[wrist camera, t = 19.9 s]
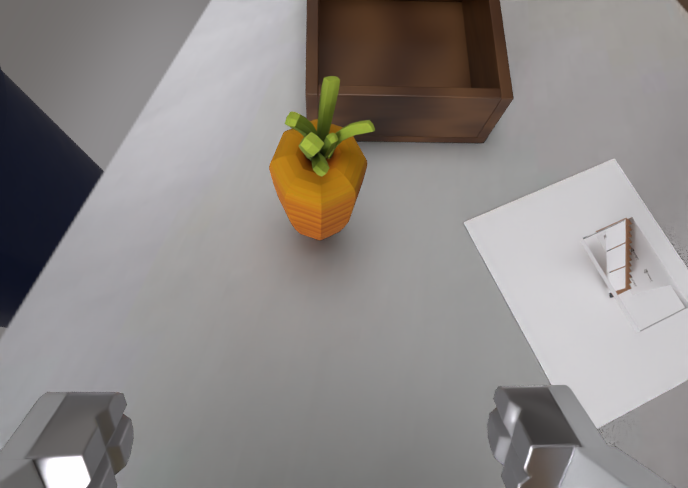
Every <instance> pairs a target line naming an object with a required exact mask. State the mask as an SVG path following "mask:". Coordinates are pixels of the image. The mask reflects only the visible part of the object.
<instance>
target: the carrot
mask: <svg viewBox="0 0 688 488" xmlns="http://www.w3.org/2000/svg"><path fill="white" fill-rule="evenodd" d="M339 85H340V79H339V78H338V77H336V76H328V77H325V78H324V79H323V83H322V87H321V94H320V103H319V113H318V119H314V120H312V121H309V120H308V119H307V118H305V117H304V116H302V115H300V114H298V113H296V112H290V113H289V115H288V116H287V118H286V122H285V124H286V125H288V126H290V127H291V128H292V129H290V130H287V131H285V132H284V133H283V135H282V138H281V140H280V142H279V145H278V147H277V149H276V152H275V154H274V156H273V159H272V161H271V163H270V166H269V170H270V173H271V177H272V180H273V183H274V186H275V189H276V192H277V195H278V197H279V200H280V202H281V204H282V206H283V208H284V210H285V212H286V214H287V216H288V218H289V220H290V222H291V224H292V225H293V227H294V228H295V229H296V230H297V231H298V232H299V233H300V234H302V235H305V236H308V237H311V238H314V239H317V240H322V239H325V238H327V237H329V236H331V235H333V234H336V233H338V232H340V231H341V230H342V229H343V228H344V227H345V226H346V224H347V223H348V222H349V219H350V216H351V214H352V211H353V208H354V205H355V202H356V199H357V197H358V194H359V191H360V188H361V185H362V182H363V179H364V175H365V172H366V168H367V160H366V158H365V156H364V155H363V153H362V151H361V149H360V147H359V146H358V144H357V142H356V140H355V139H354V137H353V136H354V135H358V134H364V133H369V132H373V131H375V127H374V125H373V123H372V122H371V121H370V120H365V121H359V122H355V123H351V124H349V125H347V126H345V127H340V126H337V125H334V124H331V122H332V118H333V114H334V110H335V105H336V101H337V96H338V92H339Z"/></svg>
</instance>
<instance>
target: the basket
mask: <svg viewBox="0 0 688 488" xmlns="http://www.w3.org/2000/svg"><path fill="white" fill-rule="evenodd" d="M328 76H336V77H338V78H339V79H340V85H339V92H338V96H337V101H336V105H335V110H334V114H333V118H332V122H331V124H334V125H337V126H340V127H345V126H347V125H349V124H351V123H355V122H359V121H365V120H370V121H371V122H372V123H373V125H374V127H375V131H373V132H369V133H364V134H358V135H354V136H353V137H354V139H355V140H356V141H384V142H453V143H484V141H485V140H486V138H487V137H488V135H489V134H490V132H491V131H492V129H493V128H494V127H495V125H496V124H497V122H498V121H499V119H500V118H501V116H502V115H503V113H504V112H505V110H506V109H507V107H508V106H509V104H510V103H511V101H512V100H513V92H512V84H511V77H510V70H509V63H508V56H507V49H506V42H505V35H504V28H503V21H502V13H501V6H500V0H307V29H306V113H307V119H308V120H309V121H312V120H314V119H318V113H319V103H320V94H321V87H322V83H323V79H324V78H325V77H328Z"/></svg>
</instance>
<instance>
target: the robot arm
mask: <svg viewBox="0 0 688 488" xmlns="http://www.w3.org/2000/svg"><path fill="white" fill-rule="evenodd" d="M493 400H494V402H495V404H496V408H495V409H494V410H493V411H492V412H491V413H490V414H489V419H488V424H487V427H488V439H489V444H490V448H491V450H492V453H493V456H494V458H495V459H497V460H498V461H499V462H500V463H501V464H502V465H504V468H503V471H502V475H501V477H502V479H503V482H504V485H505V487H506V488H676V487H674V486H673V485H671V484H670V483H669V482H667V481H666V480H664V479H663V478H661V477H660V476H658V475H657V474H655V473H654V472H652V471H651V470H649V469H648V468H647V467H645V466H644V465H642V464H641V463H639V462H638V461H636V460H635V459H633V458H632V457H630V456H629V455H628V454H626V453H625V452H623V451H622V450H620V449H619V448H617V447H616V446H608V445H607V443H606V442H605V440H604V438H603V437H602V435H601V434H600V432H599V431H598V429H597V428H596V426H595V425H594V423H593V422H592V420H591V419H590V417H589V416H588V414H587V413H586V411H585V410H584V408H583V407H582V405H581V404H580V402H579V401H578V399H577V397H576V396H575V394H574V393H573V391H572V390H571V388H569V387H568V386H567V385H543V386H541V385H533V386H499V387H498V388H497V389H496V391H495V394H494V398H493ZM126 406H127V403H126V400H125V397H124V394H123V393H119V392H47V393H45V394H44V395H42V396H41V397H40V398H39V399H38V400H37V401H36V403H35V404H34V406H33V407H32V408H31V410H30V411H29V413H28V414H27V415H26V417H25V418H24V420H23V421H22V422H21V424H20V425H19V427H18V428H17V429H16V431H15V432H14V434H13V435H12V436H11V438H10V439H9V441H8V442H7V443H6V445H5V446H4V448H3V449H2V450H1V452H0V488H117V483H116V479H115V476H114V475H115V474H117V473H118V472H119V471H120V470H121V469H122V468H124V467H125V466H126V464H127V461H128V459H129V456H130V454H131V449H132V444H133V439H134V437H133V425H132V421H131V419H130V418H128V417H127V416H126V415H125V414H123V412H124V410H125V408H126Z"/></svg>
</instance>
